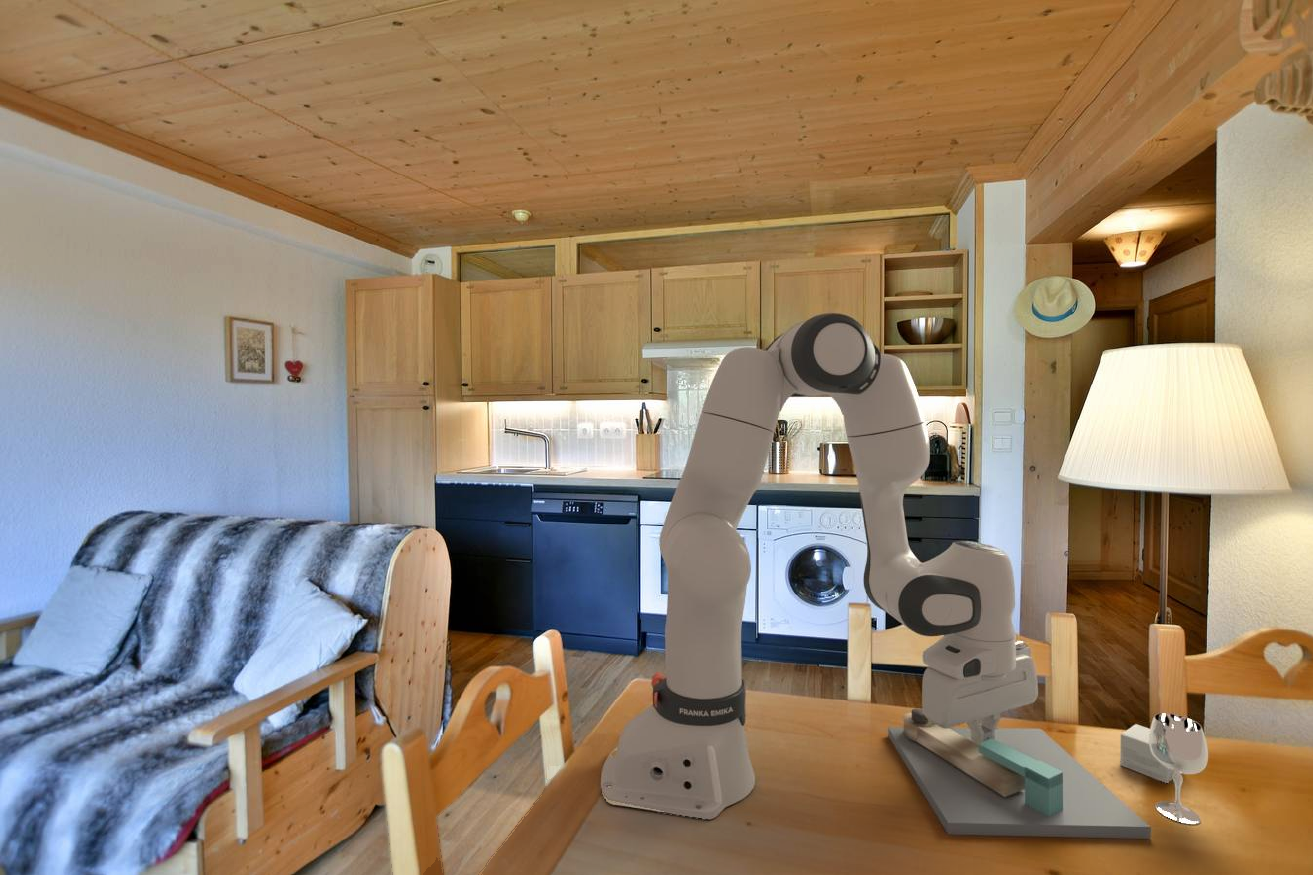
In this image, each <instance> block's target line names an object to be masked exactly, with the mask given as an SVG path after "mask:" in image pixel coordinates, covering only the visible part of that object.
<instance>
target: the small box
mask: <svg viewBox="0 0 1313 875" xmlns="http://www.w3.org/2000/svg"><path fill="white" fill-rule="evenodd" d="M1149 732H1150V728H1148V727H1146V726H1142V725H1140V724H1137V723H1135V724H1134V725H1132V726H1131V727H1130V728H1128V729H1127V730H1125V731H1123V732H1122V733H1120V762H1119V764H1120V766H1122V767H1124V768H1126V769H1129V770H1132V771H1134V772H1137V773H1139V774H1142V775H1145V777H1146V776H1147V777H1149V778H1151V779H1154V780H1156V781H1159V782H1161V781H1162V783H1164V782H1165V783H1164V784H1166V783H1168V784H1170V782H1171V781H1173V773H1174V771H1172V770H1170V769H1168V768H1166V767H1164V766H1163V765H1161V764H1160V763H1159V762H1158V761H1157V760H1156V759H1155V758H1154V757H1153V755H1152V753H1151V751H1150V748H1149ZM1169 781H1170V782H1169Z"/></svg>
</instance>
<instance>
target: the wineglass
mask: <svg viewBox="0 0 1313 875" xmlns="http://www.w3.org/2000/svg"><path fill="white" fill-rule="evenodd" d="M1149 729H1150V732H1149V748H1150V751H1151V753H1152V755H1153V757H1154V758H1155V759H1156V760H1157V761H1158V762H1159V763H1160V764H1161V765H1163V766H1164V767H1166V768H1168V769H1170V770H1172V771H1174V773H1173V779H1172V781H1173V783H1174V789H1175V790H1174V791H1175V794H1174V795H1175V796H1174V797H1175V799H1174V802H1172V801H1167V800H1166V801H1165V800H1164V801H1163V800H1162V801H1158V802H1156V803H1155V805H1154V806H1155V809H1156V810H1157V812H1159V813H1160V814H1161V815H1162V816H1164V817H1166V818H1167V817H1168V818H1167V819H1169V818H1170V819H1169V820H1171V819H1172V821H1174V822H1176V821H1177V823H1179V822H1181V823H1180V824H1185V825H1189V824H1190V825H1193V826H1194V825H1195V826H1196V825H1198V824H1201V822H1202V818H1201V817H1200V815H1199V814H1198V813H1197V812H1196V811H1195V810H1192V809H1191V808H1190V807H1187V806H1185V805H1183V804H1182V803H1181V788H1182V784H1183V781H1184V778H1183V775H1196V774H1198V773H1201V772H1202V771H1204V770H1205V768H1206V767H1207V764H1208V761H1209V751H1208V744H1207V740H1206V736H1205V733H1204V730H1203V727H1202V725H1201V724H1200V723H1199V722H1197V721H1195V720H1193V719H1192V718H1188V717H1186V716H1183V715H1179V714H1175V713H1174V714H1173V713H1168V712H1167V713H1165V712H1162V713H1161V712H1160V713H1159V712H1158V713H1156V714H1155V715H1154V716H1153V718H1152V721H1151V724H1150V728H1149Z"/></svg>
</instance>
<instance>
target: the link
mask: <svg viewBox="0 0 1313 875" xmlns="http://www.w3.org/2000/svg"><path fill="white" fill-rule="evenodd" d="M902 720H903V727H904V734H905V736H906V737H908V738H909V739H911V740H913V741H916V742H918V743H920V744H921V745H923V746H925V747H926V748H928V749H929V750H931V751H932V752H934V753H936V754H937V755H939V756H940V757H942V758H943V759H945V760H947V761H948V762H950V763H951V764H953V765H955V766H956V767H958V768H959V769H961V770H962V771H964V772H966V773H967V774H969V775H970V776H972V777H974V778H975V779H977V780H978V781H980V782H981V783H983V784H985V785H986V786H988V787H989V788H991V789H993V790H994V791H996V792H997V793H999V794H1000V795H1002V796H1004V797H1005V796H1008V795H1011V794H1014V793H1016V792H1019V791H1022V790H1024V789H1025V777H1024V776H1022V775H1020V774H1018V773H1017V772H1015V771H1013V770H1011V769H1009V768H1007V767H1005V766H1003V765H1001V764H1000V763H998V762H996V761H994V760H992V759H990V758H988V757H986V756H984V755H983V754H981V753H979V752H978V745H977V744H976V743H974V742H972V741H970V740H969V739H967V738H965V737H963V736H962V735H960V734H958V733H956V732H955V731H953V730H951V729H949V728H947V729H944V728H942V727H940V726H938V725H936V724H934V723H933V722H931V721H929V720H928V719H927V718H926V716H925V715H924V713H923V708H913V709H911V712H908V713H904V714H903V719H902Z"/></svg>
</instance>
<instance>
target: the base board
mask: <svg viewBox="0 0 1313 875" xmlns="http://www.w3.org/2000/svg"><path fill="white" fill-rule="evenodd" d="M949 729H951V730H953V731H955V732H956V733H958V734H960V735H962V736H963V737H965V738H967V739H969V740H970V741H972V740H971V729H970V728H969V727H950V728H949ZM887 734H888V736H887V737H888V738H889V740H890V742H891V743H892V744H893V747H894V748H895V750H896V751H897V753H898V755H899V756H900V758H901V760H902V761H903V763H904V764H905V766H906V767H907V769H908V771H909V772H910V774H911V776H912V777H913V779H914V781H915V782H916V784H917V786H918V787H919V789H920V791H921V792H922V794H923V796H924V797H925V799H926V800H927V802H928V804H929V806H930V807H931V809H932V810H933V812H934V814H935V815H936V817H937V819H938V820H939V822H940V823H941V825H942V827H943V829H944V830H945V832H946V833H947V835H948V836H949V835H952V836H955V835H956V836H957V835H958V836H989V837H990V836H991V837H993V836H996V837H997V836H999V837H1002V836H1003V837H1009V836H1010V837H1039V838H1040V837H1047V838H1087V839H1091V838H1092V839H1127V840H1128V839H1130V840H1131V839H1137V840H1138V839H1139V840H1151V835H1152V834H1151V831H1152V830H1151V829H1152V828H1151V826H1150V825H1149V824H1148V823H1147V822H1146V821H1145V820H1144V819H1143V818H1141V817H1140V816H1139V815H1138V814H1137V813H1135V811H1133V810H1132V809H1131V808H1130V807H1129V806H1128V805H1127V804H1126V803H1125V802H1123V801H1122V800H1121V799H1120V798H1119V797H1117V796H1116V795H1115V794H1114V793H1113V792H1112V791H1111V790H1110V789H1109V788H1107V787H1106V786H1105V785H1104V784H1103V783H1102V782H1101V781H1100V780H1099V779H1098V778H1096V777H1095V776H1094V775H1093V774H1092V773H1091V772H1089V770H1087V769H1086V768H1085V766H1084V765H1082V764H1081V763H1080V762H1079V761H1077V760H1076V759H1075V758H1074V757H1073V756H1072V755H1070V754H1069V753H1068V751H1066V750H1065V749H1064V748H1063V747H1062V746H1060V745H1059V743H1057V742H1056V741H1055V740H1053V738H1052V737H1050V736H1049V735H1048V733H1046V732H1045V731H1044V730H1042V729H1041V728H1008V727H1007V728H1004V727H1003V728H1001V727H999V728H997V727H996V730H995V740H996V741H999V742H1001V743H1003V744H1005V745H1007V746H1009V747H1011V748H1013V749H1015V750H1017V751H1019V752H1021V753H1023V754H1025V755H1027V756H1029V757H1031V758H1033V759H1035V760H1037V761H1038V760H1040V761H1042V762H1044V763H1046V764H1048V765H1050V766H1052V767H1054V768H1056V769H1058V770H1060V771H1062V772H1063V810H1061V811H1059V812H1057V813H1056V814H1054V815H1052V816H1050V817H1048V816H1047V815H1045V814H1043V813H1041V812H1040V811H1038V810H1036V809H1034V808H1033V807H1031V806H1029V805H1027V804H1025V789H1024V790H1022V791H1019V792H1016V793H1014V794H1011V795H1008V796H1005V797H1004V796H1002V795H1000V794H999V793H997V792H996V791H994V790H993V789H991V788H989V787H988V786H986V785H985V784H983V783H981V782H980V781H978V780H977V779H975V778H974V777H972V776H970V775H969V774H967V773H966V772H964V771H962V770H961V769H959V768H958V767H956V766H955V765H953V764H951V763H950V762H948V761H947V760H945V759H943V758H942V757H940V756H939V755H937V754H936V753H934V752H932V751H931V750H929V749H928V748H926V747H925V746H923V745H921V744H920V743H918V742H916V741H913V740H911V739H909V738H908V737H906V736H905V734H904V726H903V727H902V726H901V727H900V726H898V727H895V726H894V727H893V726H891V727H890V726H889V727H887ZM972 742H973V741H972ZM977 745H978V744H977Z"/></svg>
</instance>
